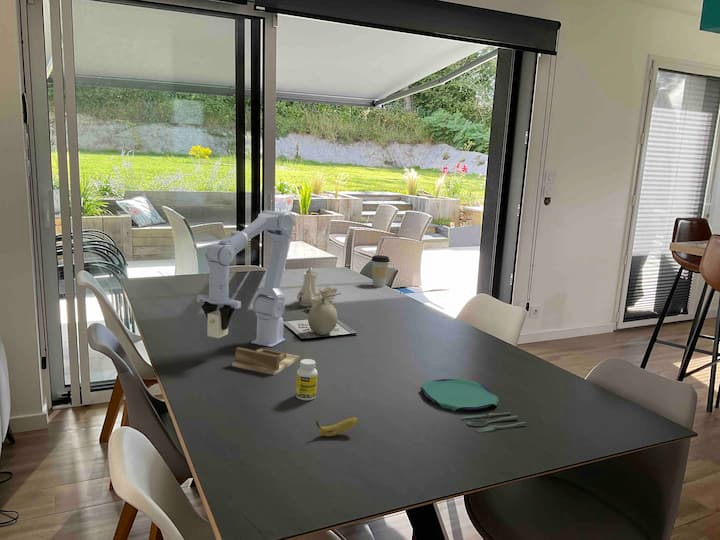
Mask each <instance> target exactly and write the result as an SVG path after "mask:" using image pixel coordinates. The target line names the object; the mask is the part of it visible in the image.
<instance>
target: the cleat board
mask: <svg viewBox="0 0 720 540" xmlns="http://www.w3.org/2000/svg"><path fill="white" fill-rule="evenodd" d="M234 353H235V356H234V357H235V361H233V362H232V363H231V364H232V365H231V366H232V367H235V368H239V369H244V370H248V371H253V372H257V373H262V374H267V375H271V376H275V375H277V374H278V373H280V372H281V371H283V370H285V369H286V368H288V367H290V366H291V365H293V364H295V363H296V362H298V361H299V360H300V359H301V356H300V355H296V354H291V353H286V352H281V351H276V350H271V349H266V348H263V347H262V348H259V349H256V350H254V349H249V348H243V347H236V348H235V352H234Z"/></svg>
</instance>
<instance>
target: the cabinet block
mask: <svg viewBox="0 0 720 540" xmlns="http://www.w3.org/2000/svg"><path fill="white" fill-rule="evenodd" d="M206 321H207V320H206ZM206 325H207V328H206V329H207V331H206V332H207V335H206V336H207V337H209V338H214V339H215V338H216V339H221V338H222V337H225V336H227V335H229V327H228V328H227V329H225V330H222V328H221V314H220V310H219V309H217V310H216V311H213V312H211V313H208V321H207V323H206Z"/></svg>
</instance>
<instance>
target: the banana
mask: <svg viewBox="0 0 720 540" xmlns="http://www.w3.org/2000/svg"><path fill="white" fill-rule="evenodd" d="M358 421H359V418H358V417H356V416H355V417H354V416H353V417H349V418H346V419H344V420H342V421H340V422H338V423H336V424H332V425H327V426H322V425H320V424H319V420H316V422H315V424H316V426H317V427H318V431H319V434H321V436H324V437H335V436H338V435H340V434H342V433H344V432H346V431H348V430H350V429H351V428H353V427H354V426H355V425H356V424H357V423H358Z"/></svg>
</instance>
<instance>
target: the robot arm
mask: <svg viewBox="0 0 720 540" xmlns="http://www.w3.org/2000/svg"><path fill="white" fill-rule="evenodd" d="M257 214H258V215H257V218H255V219H254V220H253V221H252V222H251V223H250V224H249V225H247V226H246V227H245V228H243V230H241V231H240V230H232V231H230V234H229V235H227V236H226V237H225V238H224V239H220V241H219V242H218V243H213V244H210V245H209V247H207V250H206V252H205V253H204V257H205V259H206V261H207V265H208V266H207V267H208V268H209V269H208V271H209V273H208V274H209V275H208V276H209V278H208V282H209V283H208V285H209V286H208V294H198V295H196V303H203V304H202V305H201V309H202V311H203V312H204V315H205V318H206V321H208V313H211V312H213V311H216V310H220V314H221V328H222V330H225V329H227V328H228V329H229V323H230V321H231V318H232V315H233V314H234V313H235V311H236V309H237V310H238V309H241V308H242V301H241V300H236V299H233V298H230V297H229V294H230V293H229V292H230V291H229V288H230V287H229V286H230V284H229V282H230V264H232V262H233V261H234V258H235V256H236V255H237V254H238V253H239V252H241V251H243V249H245V248H246V247H248V246H249V245H248V244H249V240H251V239H253V238H254V237H256V236H258V235H260V233H263V231H265V232H266V233H267V234H268V235H270V237H271V238H272V240H273V244H272V247H271V252H270V257H269V261H268V266H267V270H266V275H265V281H264V284H263V287H261V288H260V289H258V290H257V291H256V295H255V297H254V299H253V301H252V307H251V308H252V310H253V312H254V313H255V317H256V316H257V317H256V318H257V319H256V321H257V322H256V339H254V340H251V341H250V342H251V344H255V345H259V346H265V347H269V348H272V347H274V346H276V345H279V344H280V343H282V342H284V341H286V338H284V318H283V315H284V312H285V309H286V307H285V301H286V297H285V294H284V293H283V292H282V290H281V286H282V282H283V277H284V274H285V268H286V263H287V260H288V259H287V258H288V254H289V249H290V245H291V239H292V233H293V227H294V224H295V221H294V219H293V216H292V215H291V213H290V212H287V211H284V212H283V211H274V210H269V209H265V210H263V211H261V212H260V213H257ZM218 306H222V307H218ZM218 308H219V309H218Z"/></svg>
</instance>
